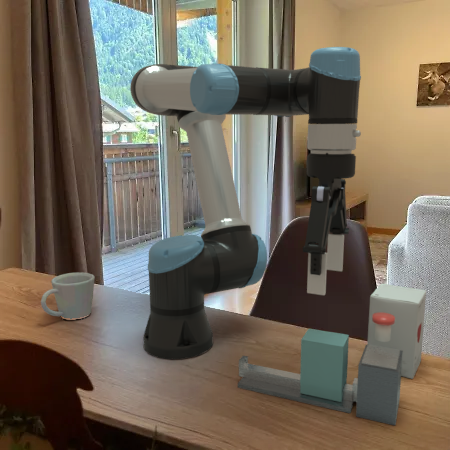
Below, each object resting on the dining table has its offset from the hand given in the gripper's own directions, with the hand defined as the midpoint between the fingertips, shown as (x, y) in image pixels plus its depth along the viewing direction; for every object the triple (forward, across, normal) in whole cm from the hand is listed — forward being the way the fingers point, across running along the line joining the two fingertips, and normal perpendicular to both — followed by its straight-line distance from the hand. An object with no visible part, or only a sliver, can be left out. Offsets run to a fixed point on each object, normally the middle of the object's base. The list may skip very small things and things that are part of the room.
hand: (326, 281), depth 78 cm
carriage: (+21, 0, 0) cm, 21 cm away
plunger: (+8, 0, -10) cm, 13 cm away
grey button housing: (+21, 0, -10) cm, 23 cm away
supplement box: (+21, +17, -11) cm, 29 cm away
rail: (+21, 0, +4) cm, 21 cm away
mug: (+22, +10, +66) cm, 70 cm away
